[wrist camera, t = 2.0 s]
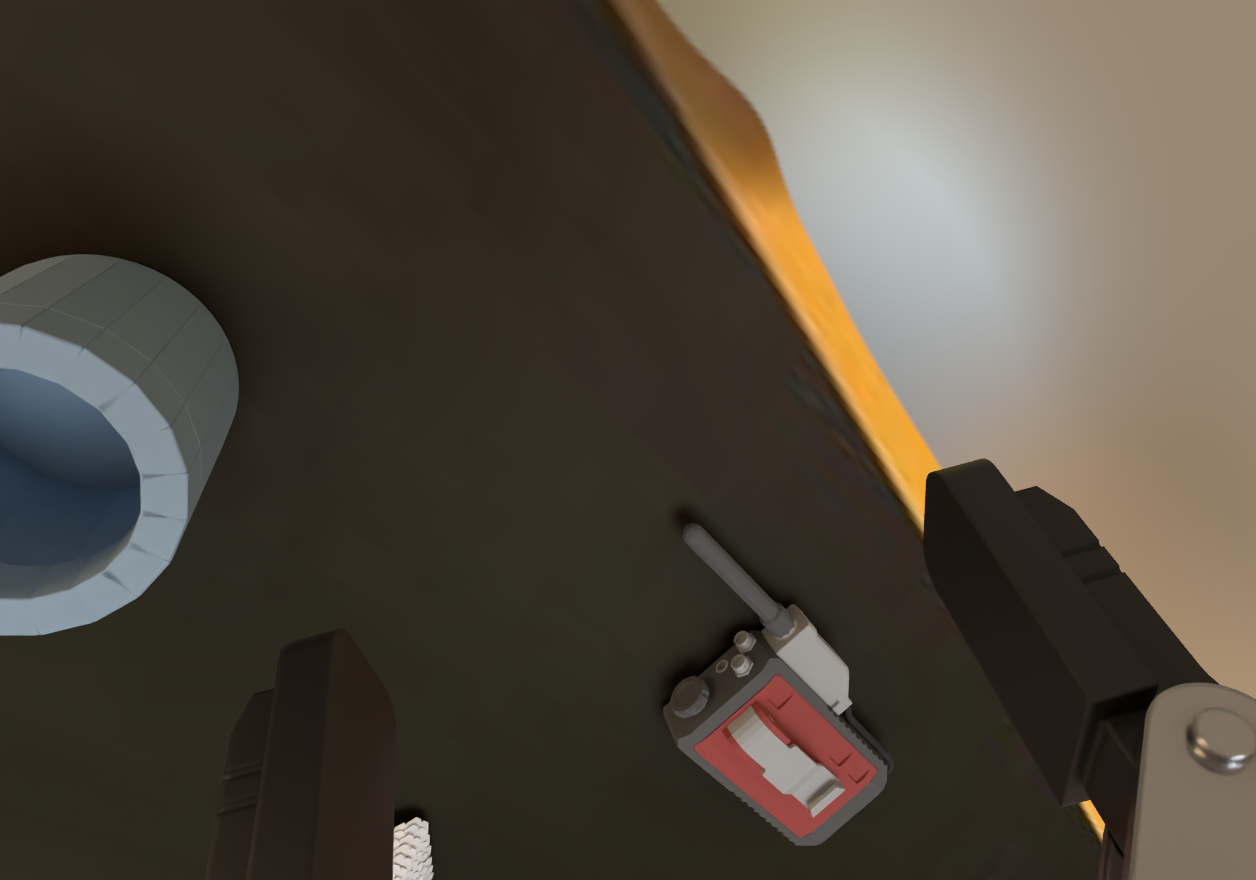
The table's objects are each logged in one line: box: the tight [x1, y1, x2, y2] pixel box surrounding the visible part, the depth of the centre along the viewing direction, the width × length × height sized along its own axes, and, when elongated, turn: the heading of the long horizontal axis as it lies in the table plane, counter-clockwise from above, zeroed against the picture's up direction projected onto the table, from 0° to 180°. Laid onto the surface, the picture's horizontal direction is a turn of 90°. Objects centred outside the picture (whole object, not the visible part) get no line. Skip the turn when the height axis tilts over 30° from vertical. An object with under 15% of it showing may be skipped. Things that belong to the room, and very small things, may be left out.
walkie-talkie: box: [663, 523, 894, 846], centre depth 43 cm, size 9×4×20 cm
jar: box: [0, 254, 239, 635], centre depth 28 cm, size 9×9×10 cm
